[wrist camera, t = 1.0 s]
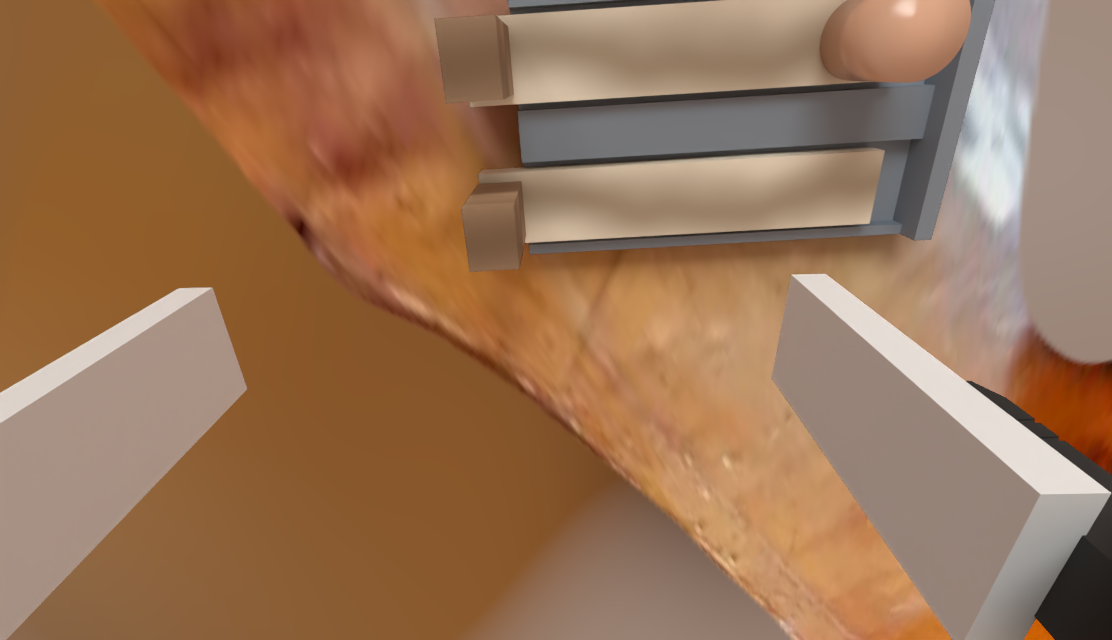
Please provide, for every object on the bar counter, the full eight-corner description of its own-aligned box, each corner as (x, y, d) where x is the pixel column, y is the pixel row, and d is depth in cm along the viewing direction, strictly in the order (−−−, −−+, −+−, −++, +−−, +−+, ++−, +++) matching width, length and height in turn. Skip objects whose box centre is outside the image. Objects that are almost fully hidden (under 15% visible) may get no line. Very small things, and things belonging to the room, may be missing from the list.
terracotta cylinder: (827, -5, 26) (884, -21, 21) (908, -11, 26) (983, -28, 21) (814, 83, 27) (864, 85, 23) (890, 78, 27) (955, 79, 23)
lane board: (510, -2, 28) (504, -10, 25) (959, -33, 27) (1006, -45, 24) (530, 245, 34) (528, 261, 31) (899, 225, 33) (931, 239, 31)
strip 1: (463, 21, 28) (432, 4, 21) (898, -9, 27) (1016, -37, 20) (473, 105, 30) (447, 115, 23) (881, 79, 29) (983, 81, 22)
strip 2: (481, 169, 31) (459, 198, 24) (868, 146, 30) (960, 168, 24) (489, 237, 33) (470, 281, 26) (854, 216, 32) (935, 256, 25)
